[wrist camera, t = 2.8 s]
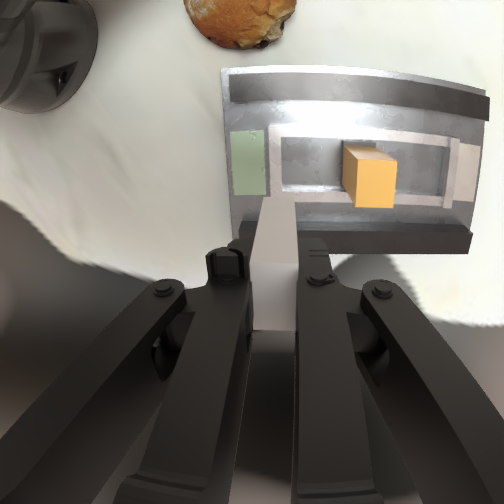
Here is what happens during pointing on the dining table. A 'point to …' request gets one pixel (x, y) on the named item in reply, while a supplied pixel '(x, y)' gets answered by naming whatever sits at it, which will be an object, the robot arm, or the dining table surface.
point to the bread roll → (240, 20)
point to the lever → (368, 174)
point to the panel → (330, 154)
